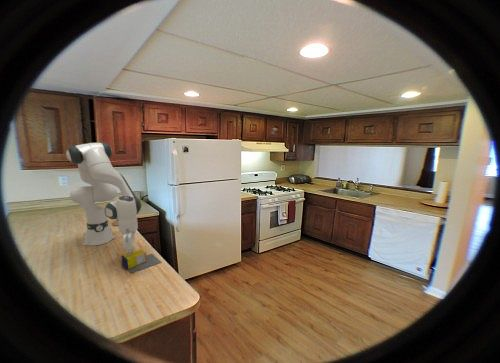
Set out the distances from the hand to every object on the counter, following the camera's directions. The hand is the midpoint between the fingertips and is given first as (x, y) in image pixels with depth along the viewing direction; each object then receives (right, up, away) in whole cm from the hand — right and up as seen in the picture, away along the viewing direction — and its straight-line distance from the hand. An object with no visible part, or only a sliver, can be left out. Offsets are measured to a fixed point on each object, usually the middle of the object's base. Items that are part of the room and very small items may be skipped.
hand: (130, 250), depth 121 cm
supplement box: (-3, -6, -1) cm, 7 cm away
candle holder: (-44, +2, +67) cm, 81 cm away
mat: (+4, -8, +5) cm, 11 cm away
